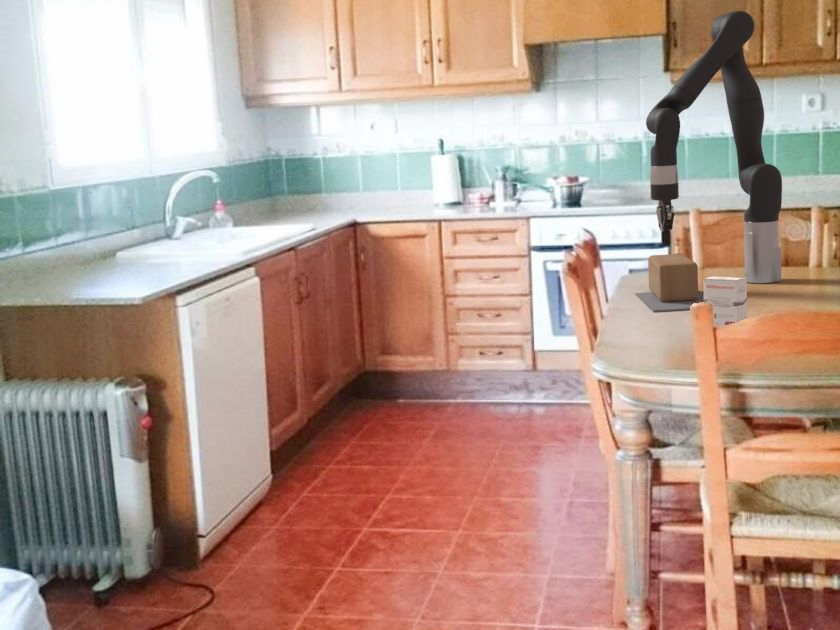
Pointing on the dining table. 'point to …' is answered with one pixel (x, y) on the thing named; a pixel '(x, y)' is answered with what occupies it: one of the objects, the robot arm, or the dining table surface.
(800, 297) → the dining table surface
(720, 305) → the ink box
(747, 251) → the robot arm
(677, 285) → the wooden block
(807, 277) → the dining table surface
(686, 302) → the rubber mat
